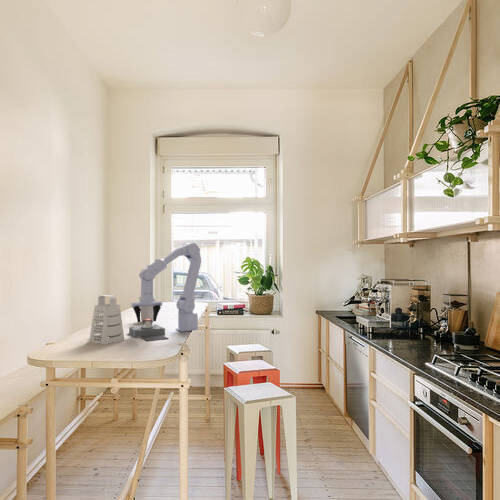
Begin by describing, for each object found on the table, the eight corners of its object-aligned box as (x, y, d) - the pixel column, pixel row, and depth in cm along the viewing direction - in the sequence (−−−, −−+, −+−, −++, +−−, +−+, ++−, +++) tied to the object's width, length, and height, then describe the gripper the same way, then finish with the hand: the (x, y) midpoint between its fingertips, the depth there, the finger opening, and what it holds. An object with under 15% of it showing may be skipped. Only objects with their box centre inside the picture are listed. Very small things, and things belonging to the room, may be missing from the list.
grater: (105, 344, 177) (105, 297, 178) (89, 341, 183) (89, 295, 183) (124, 340, 186) (124, 295, 187) (108, 337, 192) (108, 294, 192)
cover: (150, 332, 205) (150, 318, 205) (153, 334, 201) (153, 319, 201) (140, 333, 202) (140, 319, 203) (143, 335, 198) (143, 320, 198)
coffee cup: (135, 322, 237) (135, 295, 237) (144, 319, 246) (144, 294, 246) (150, 323, 234) (150, 296, 234) (158, 320, 243) (159, 294, 243)
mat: (161, 335, 198) (161, 334, 198) (168, 339, 189) (168, 338, 189) (140, 337, 193) (140, 336, 193) (146, 341, 184) (146, 340, 184)
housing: (157, 330, 210) (157, 323, 210) (165, 334, 200) (165, 327, 200) (129, 333, 203) (129, 326, 203) (135, 337, 193) (135, 330, 193)
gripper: (134, 294, 195) (133, 323, 195) (164, 293, 202) (164, 321, 202) (130, 293, 201) (130, 321, 201) (159, 292, 208) (159, 319, 208)
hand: (146, 321), depth 202 cm, fingers open, 7 cm apart
